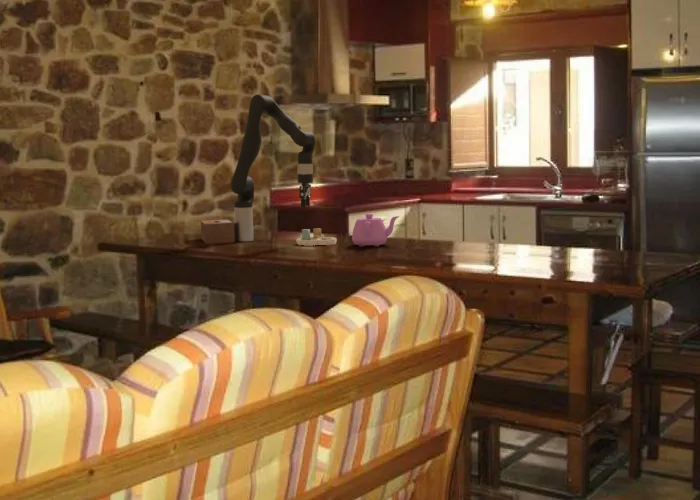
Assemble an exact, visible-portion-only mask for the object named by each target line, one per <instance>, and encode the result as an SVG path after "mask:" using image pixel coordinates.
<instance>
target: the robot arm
mask: <svg viewBox="0 0 700 500" xmlns="http://www.w3.org/2000/svg"><path fill="white" fill-rule="evenodd" d="M262 115H268V116H270V117H271V118H273V120H275V122H276V123H277V125H278V127H279V128H280V129H281V130H283V132H285V133H286V134H287V135H288V136H289V137H290V139H291V140H292V142H294V144H296V145H297V146H299V147H302V150H301V151H299V152H298V154H297V168H296V169H297V183H298V184H301V185H299V192H298V193H299V195H298V196H299V199H300V207H301V208H306V207H308V206H311V205H310V204H311V203H310V202H311V201H310V200H311V197H312V185H311V184H313V183H314V167H313V154H314V150H315V146H316V137H315V135H314V133H313V132H311V131H303V130H302V129H301V126H300V125H299V123H298V122H296V121H295V120H294V119H292V117H290V116H289V115H288V114H287V113H286V112H284V110H283V109H281V107H280V105H278V104H277V103H276V101H275V100H274V99H273V98H272V97H271V96H270V95H266V94H261V93H259V94H254V95H253V96H252V97H251V100H250V102H249V107H248V114H247V121H246V126H245V130H244V135H243V139H242V142H241V148H240V153H239V155H238V159H237V164H236V167H235V170H234V173H233V176H232V179H231V182H230V188H231V191H232V193H234V194H236V195H237V199H235V201H234V202H233V204H234V205H233V206H234V208H233V210H234V222H233V223H234V241H235V242H252V241H254V211H253V203H254V200H255V183H254V180H253V178H252V177H250V175H249V172H250V169H251V167H252V166H253V164H254V162H255V161H256V159H257V158H258V155H259V153H260V150H261V145H262V134H261V128H260V124H261V118H262Z"/></svg>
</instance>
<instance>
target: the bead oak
mask: <svg viewBox="0 0 700 500" xmlns="http://www.w3.org/2000/svg"><path fill="white" fill-rule="evenodd" d="M312 234H313V235H312V237H313V238H321V237H322V228H319V227H318V228H316V227H315V228H312Z"/></svg>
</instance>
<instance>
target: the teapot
mask: <svg viewBox="0 0 700 500" xmlns="http://www.w3.org/2000/svg"><path fill="white" fill-rule="evenodd" d="M399 217H400V215H398V216H397V215H396V216H393V217H391V219H390V220H389V221H390V222H389V225H388V227H387V228H386V226H385V223H384V221H383V219H382V218H381V217H374V214H373V213H365V217H360V218H357V219H356V221H355V223H354V226H353V229H352V236H351V239H352V242H353V244H354V245H355V246H358V247H366V246H373V247H380V245H385V244H386V242H387V240H388V237H389V236H391V235H392V234H393V230H394V225H395V221H396V220H397V219H398V218H399Z"/></svg>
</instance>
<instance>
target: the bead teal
mask: <svg viewBox="0 0 700 500" xmlns="http://www.w3.org/2000/svg"><path fill="white" fill-rule="evenodd" d="M310 237H311V229H309V228H308V229H306V228H304V229H301V238H302V240H310Z"/></svg>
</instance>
